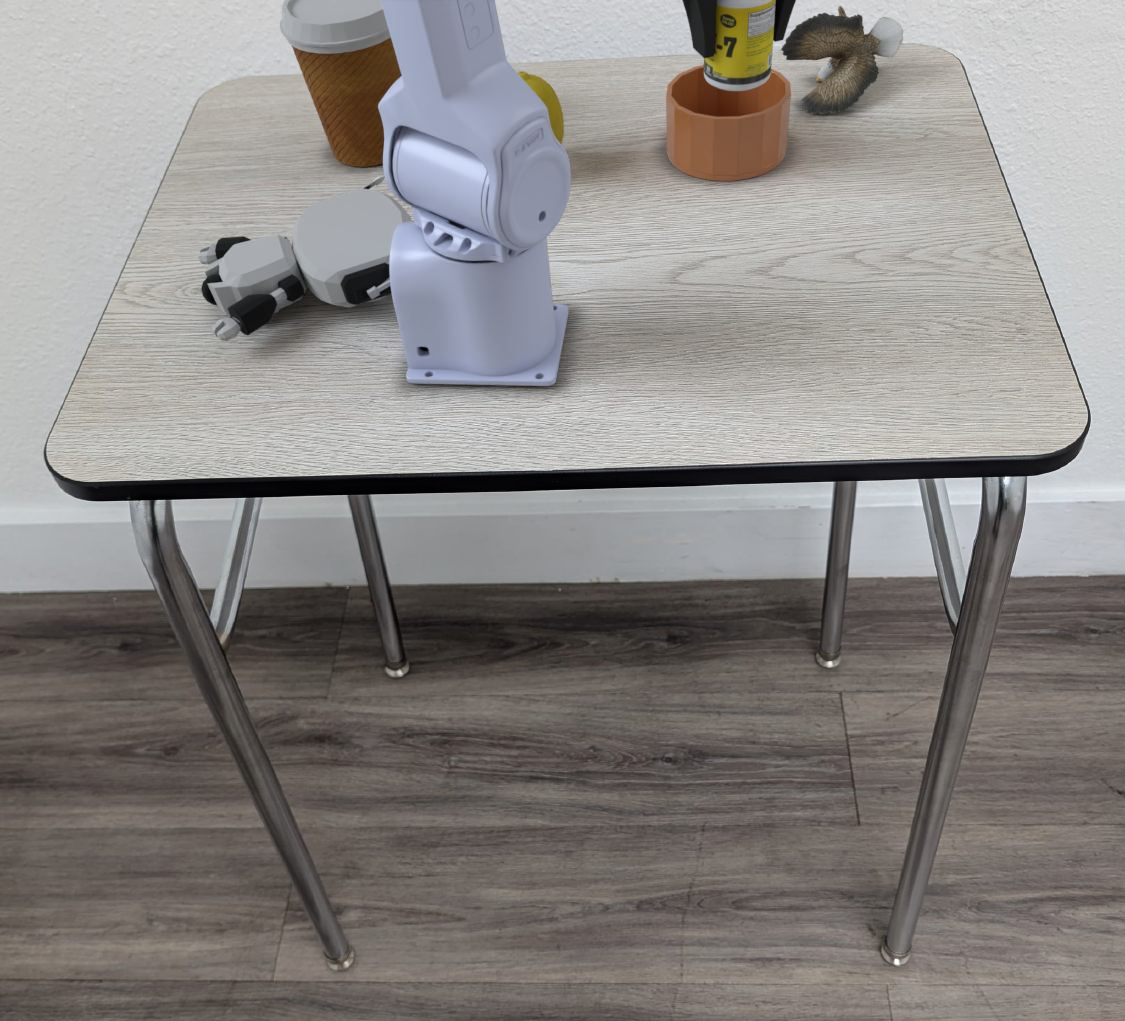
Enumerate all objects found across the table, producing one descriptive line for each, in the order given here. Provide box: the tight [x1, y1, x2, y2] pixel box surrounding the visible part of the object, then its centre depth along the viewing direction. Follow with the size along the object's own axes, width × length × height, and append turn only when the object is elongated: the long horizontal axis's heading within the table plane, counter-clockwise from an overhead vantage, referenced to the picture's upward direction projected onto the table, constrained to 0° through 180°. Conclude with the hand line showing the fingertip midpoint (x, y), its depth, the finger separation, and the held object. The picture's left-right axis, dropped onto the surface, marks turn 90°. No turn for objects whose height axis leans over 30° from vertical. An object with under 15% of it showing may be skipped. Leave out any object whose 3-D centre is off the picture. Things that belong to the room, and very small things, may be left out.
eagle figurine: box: [780, 5, 904, 115], centre depth 90 cm, size 8×7×9 cm
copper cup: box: [665, 64, 792, 182], centre depth 85 cm, size 9×9×5 cm
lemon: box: [517, 70, 565, 145], centre depth 84 cm, size 6×6×8 cm
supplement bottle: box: [703, 0, 776, 91], centre depth 76 cm, size 5×5×8 cm
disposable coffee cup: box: [279, 0, 402, 168], centre depth 87 cm, size 10×10×12 cm
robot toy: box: [197, 175, 412, 342], centre depth 76 cm, size 12×4×15 cm
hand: (737, 44), depth 77 cm, fingers closed on supplement bottle, 5 cm apart
